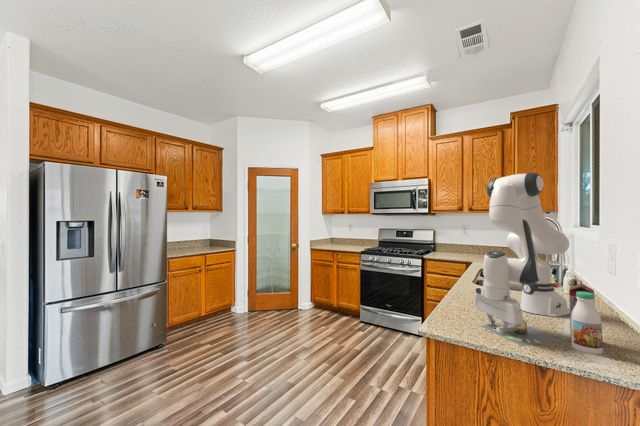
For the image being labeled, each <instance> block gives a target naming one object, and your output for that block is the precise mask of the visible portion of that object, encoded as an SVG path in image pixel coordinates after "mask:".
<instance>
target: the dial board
mask: <svg viewBox="0 0 640 426" xmlns="http://www.w3.org/2000/svg"><path fill="white" fill-rule="evenodd" d="M500 325H502V323H497V324H496V323H495V325H493V326H492V325H490V324H488V325H487V324H486V325H481V327H482V328H484V329H486V330H489V331H490V332H492V333H493V334H496V335H498V336H500V337H502V338H504V339H506V340H508V341H511V342H513V343H514V344H516V345H518V346H521V347H523V346H534V345H541V344H549V343H557V342H566V339H563V338H560V337H557V336H556V335H553V334H550V333H547V332H545V331H543V330H541V329H538V328H536V327H533V326H530V325H528V324H527V334H519V333H516V332H514V331H507V332H498V331H496V327H500ZM507 326H513V324H510V323H509V324H508V325H507Z"/></svg>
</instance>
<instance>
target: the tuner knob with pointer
mask: <svg viewBox="0 0 640 426" xmlns="http://www.w3.org/2000/svg"><path fill="white" fill-rule="evenodd" d="M527 325H528V322H527V321H525V320H523V323H522V324H520V325H513V326H505V327H496V331H498V332H507V331H514V332H516V333H519V334H527Z"/></svg>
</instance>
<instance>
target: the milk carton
mask: <svg viewBox="0 0 640 426" xmlns="http://www.w3.org/2000/svg"><path fill="white" fill-rule="evenodd" d="M579 291H581V292H589V293H593V294H594V295H595V290H594V288H591V287H588V286H586V285H585V284H583V281H582V280H580V283H579V284H577V285H573V286H571V287H569V309H570V314H569V315H570V316H569V321H570V322H569V325H570V331H571V314H572V311H573V309H574V307H575V305H576V303H577V298H576V297H577V296H576V292H579ZM594 305H596V304H595V303H594Z"/></svg>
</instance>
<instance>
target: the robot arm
mask: <svg viewBox="0 0 640 426" xmlns="http://www.w3.org/2000/svg"><path fill="white" fill-rule="evenodd" d="M543 190H544V180H543V177H542V176H541V174H539V173H537V172H527V173H516V174H511V175H505V176H502V177H499V178H498V177H496V178H492V179H491V180H489V181H488V183H487V185H486V194H487V196H488V197H489V207H488V208H489V209H488V215H489V221H490V223H491V224H492V225H494V226H495V227H496V228H498V229H501V230H503V231H506V232H509V233H508V235H507V237H506V245H507V247H508V248H509V249H510V250H511V251H513V253H515V255H516V256H517V257H518V258H515V257H514V258H513V257H511V258H510V257H508V255H507V254H506V253H505V252H504V251H498V250H492V251H488V252H485V254H484V256H483V264H482V274H483V276H484V277H483V278H484V279H483V286H476V287H474V293H475V294H474V307H476V308H475V309H477V310H479V311H482V312H484V313H485V314H486V315H485V316H486V317H487V318H486V319H487V320H488V325H492V326H493V325H495V324H496V320H494V318H493V317H495V318H497V319H500V321H501V324H502V325H500V327H505V326H507V325H508V324H509V323H510V324H513V325H520V324H522V323H523V321H524V317H523V311H524V312H525V313H526V312H527V313H530V314H535V315H540V316H548V317H549V316H550V317H553V318H558V317H563V316H567V315H570V307H568V301H567V299H566V298H565V297H564V296H562V295H561V294H560V293H558V292H557V291H556V290H555V288H556V289H559V287H560V285H559V283H555V282H552V269H551V266H550V265H549V264H548V263H546V262H545V261H543V260H541V259H540V257H539V256H538V254H541V255H550V256H551V255H562V254H563V255H564V254H565V253H566V252H568V249H569V248H570V247H569V246H570V240H569V238H568V237H567V236H566V234H565V233H562V232H560V231H559V230H557V229H555V227H553V226H552V225H551V223H549V222H548V220H547V219H546V216H545V214H544V210H543V208H542V203H541V200H540V199H541V198H540V197H539V195H540V194H541V193H542V191H543ZM509 282H510V283H516V284H520V285H521V287H522V290H521V297H520V303H519V301H518V300H517V299H515V298H513V297H511V289H510V283H509Z"/></svg>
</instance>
